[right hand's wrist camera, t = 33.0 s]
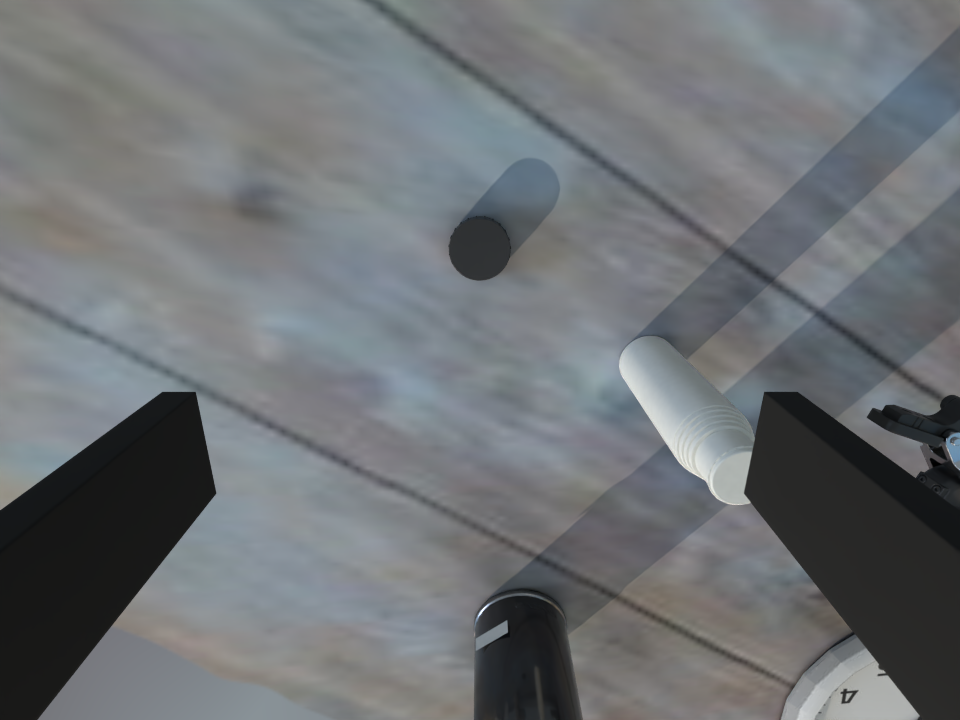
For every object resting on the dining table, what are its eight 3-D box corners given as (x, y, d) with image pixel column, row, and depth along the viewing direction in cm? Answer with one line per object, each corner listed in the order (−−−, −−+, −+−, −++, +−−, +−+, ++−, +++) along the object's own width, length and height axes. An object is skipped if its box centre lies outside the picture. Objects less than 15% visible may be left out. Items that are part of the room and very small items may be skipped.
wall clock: (1114, 605, 52) (1040, 804, 62) (1096, 592, 53) (1027, 788, 64) (798, 635, 53) (778, 825, 63) (789, 621, 55) (771, 809, 65)
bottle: (610, 378, 45) (684, 502, 29) (632, 328, 44) (724, 429, 27) (660, 394, 46) (761, 525, 29) (684, 345, 44) (805, 453, 28)
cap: (465, 286, 43) (465, 291, 41) (438, 232, 41) (437, 235, 40) (519, 261, 42) (521, 265, 40) (494, 205, 40) (494, 206, 39)
